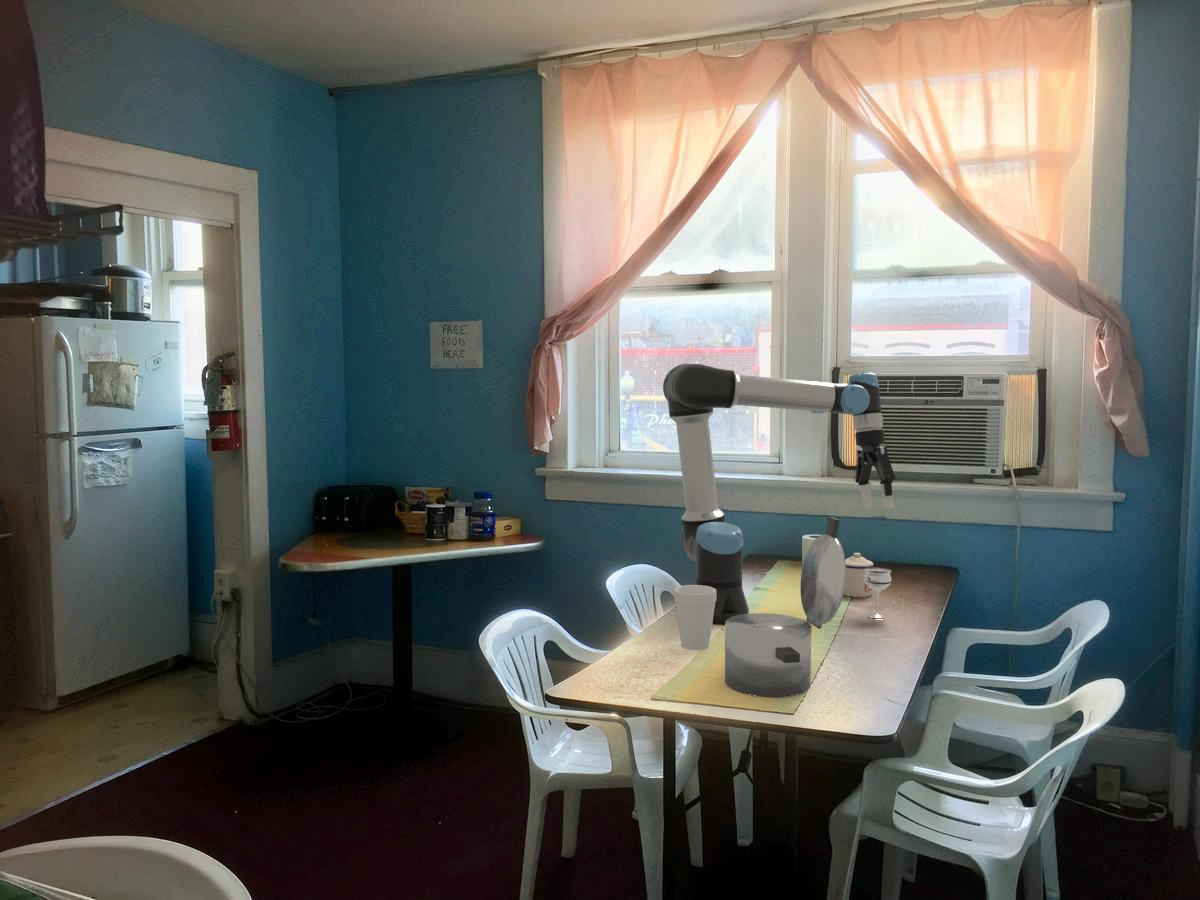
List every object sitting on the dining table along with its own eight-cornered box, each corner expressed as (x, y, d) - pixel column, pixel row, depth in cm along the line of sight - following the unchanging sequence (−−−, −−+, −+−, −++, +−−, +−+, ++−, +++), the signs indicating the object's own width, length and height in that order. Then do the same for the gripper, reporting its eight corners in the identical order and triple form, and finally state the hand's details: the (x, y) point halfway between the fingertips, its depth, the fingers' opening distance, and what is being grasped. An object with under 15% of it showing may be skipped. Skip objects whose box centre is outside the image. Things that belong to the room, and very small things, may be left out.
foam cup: (682, 653, 206) (682, 595, 205) (668, 641, 215) (668, 586, 214) (722, 649, 209) (722, 593, 208) (706, 638, 218) (707, 584, 217)
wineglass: (869, 611, 241) (870, 566, 240) (894, 616, 237) (895, 570, 236) (858, 617, 236) (859, 570, 235) (884, 621, 232) (885, 574, 231)
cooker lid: (793, 613, 196) (799, 614, 196) (829, 637, 178) (835, 638, 179) (812, 511, 195) (818, 512, 195) (850, 525, 177) (856, 526, 178)
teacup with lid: (871, 599, 255) (872, 557, 254) (837, 596, 258) (838, 555, 257) (875, 589, 266) (876, 549, 265) (842, 587, 269) (843, 547, 268)
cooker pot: (783, 660, 201) (784, 606, 200) (834, 702, 175) (835, 640, 174) (707, 664, 198) (708, 609, 197) (748, 708, 172) (748, 645, 171)
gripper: (902, 425, 239) (912, 507, 238) (863, 432, 264) (871, 506, 263) (875, 427, 238) (884, 510, 237) (838, 434, 263) (846, 509, 262)
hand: (877, 508), depth 250 cm, fingers open, 13 cm apart
